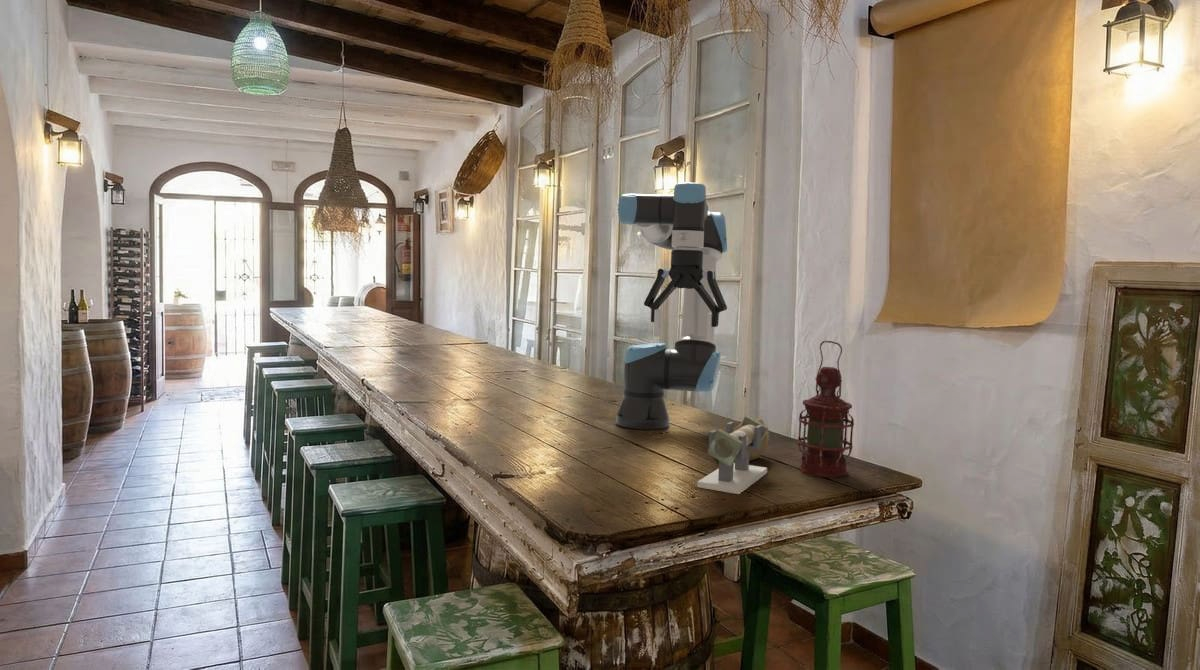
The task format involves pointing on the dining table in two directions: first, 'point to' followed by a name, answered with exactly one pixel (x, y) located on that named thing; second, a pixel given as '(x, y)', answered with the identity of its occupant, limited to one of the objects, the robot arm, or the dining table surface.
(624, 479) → the dining table surface
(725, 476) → the bracket
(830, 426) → the lantern
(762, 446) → the low-poly potato
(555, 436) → the dining table surface
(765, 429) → the column
